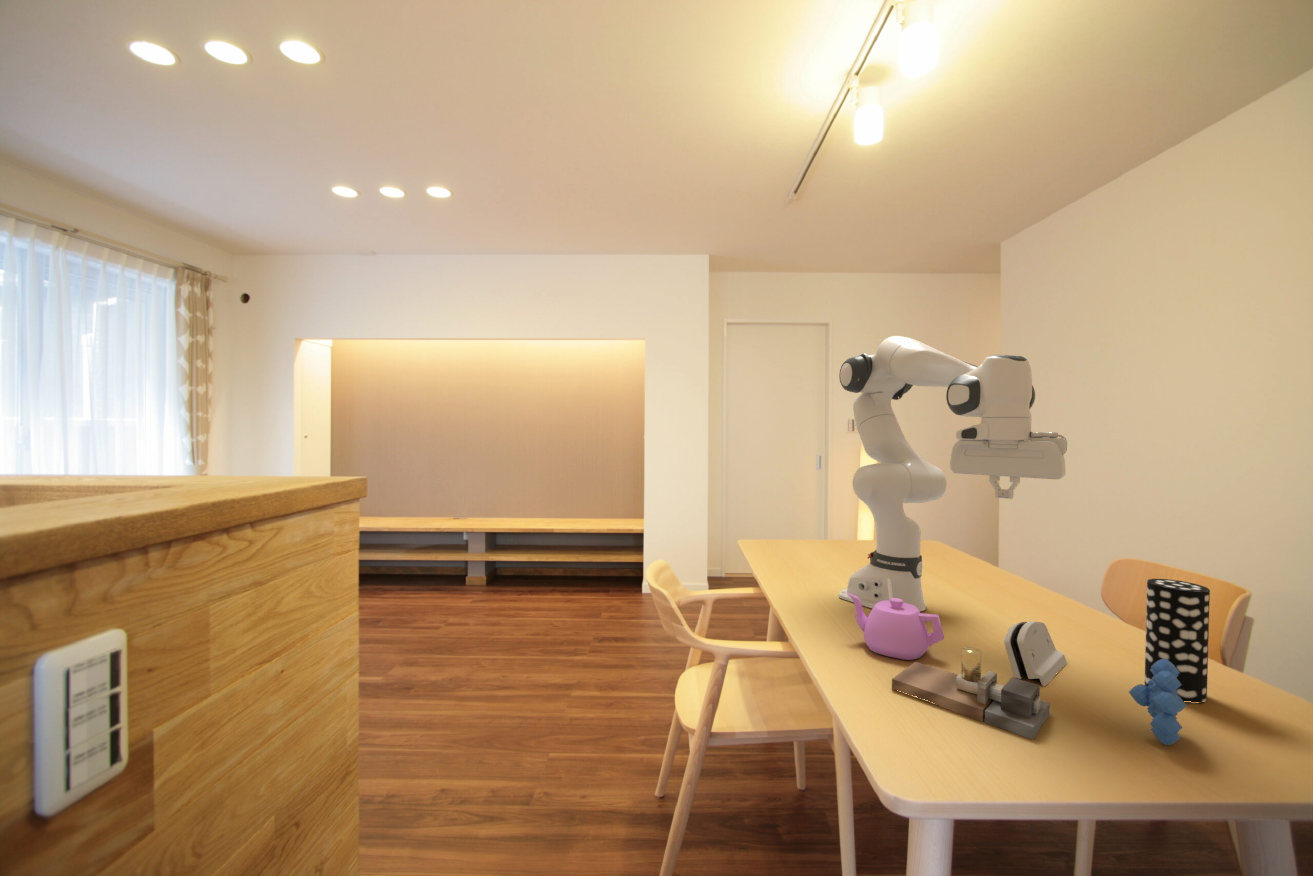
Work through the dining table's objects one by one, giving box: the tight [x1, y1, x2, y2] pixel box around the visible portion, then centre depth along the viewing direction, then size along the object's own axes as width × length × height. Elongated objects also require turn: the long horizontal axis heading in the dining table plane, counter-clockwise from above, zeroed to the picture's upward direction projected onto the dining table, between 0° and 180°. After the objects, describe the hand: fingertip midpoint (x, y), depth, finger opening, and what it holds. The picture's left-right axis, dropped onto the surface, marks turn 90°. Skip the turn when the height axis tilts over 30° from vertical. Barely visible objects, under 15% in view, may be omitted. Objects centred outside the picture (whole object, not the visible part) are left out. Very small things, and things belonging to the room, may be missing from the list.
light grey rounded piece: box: [1003, 620, 1068, 687], centre depth 110 cm, size 17×5×10 cm, turn 131°
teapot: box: [847, 593, 945, 661], centre depth 119 cm, size 13×20×11 cm, turn 55°
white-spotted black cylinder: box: [1144, 578, 1211, 702], centre depth 100 cm, size 8×8×20 cm
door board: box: [891, 661, 1051, 741], centre depth 96 cm, size 22×11×5 cm, turn 43°
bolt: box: [956, 646, 1041, 714], centre depth 93 cm, size 12×3×7 cm, turn 43°
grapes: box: [1128, 659, 1187, 746], centre depth 86 cm, size 12×7×12 cm, turn 140°
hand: (1004, 498), depth 113 cm, fingers closed
